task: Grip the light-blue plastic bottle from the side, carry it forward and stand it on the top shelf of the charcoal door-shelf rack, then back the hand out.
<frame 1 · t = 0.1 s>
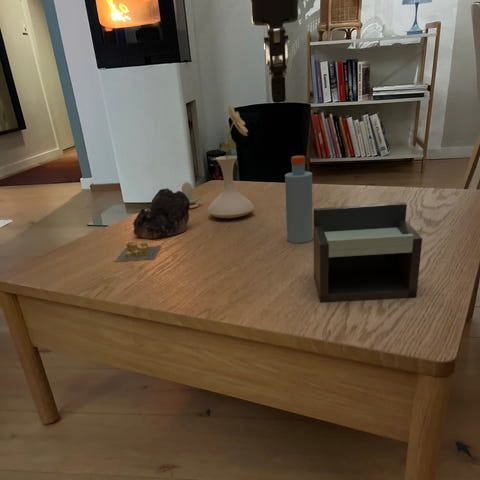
hand: (278, 100, 82), 26 cm above the table, tool pointing down, fingers open, 8 cm apart
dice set: (139, 254, 97), on the table
pacifier: (187, 207, 129), on the table
flower in vase: (233, 215, 118), on the table
plastic bottle: (299, 239, 97), on the table
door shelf: (361, 286, 75), on the table
dark brown rock: (162, 231, 110), on the table
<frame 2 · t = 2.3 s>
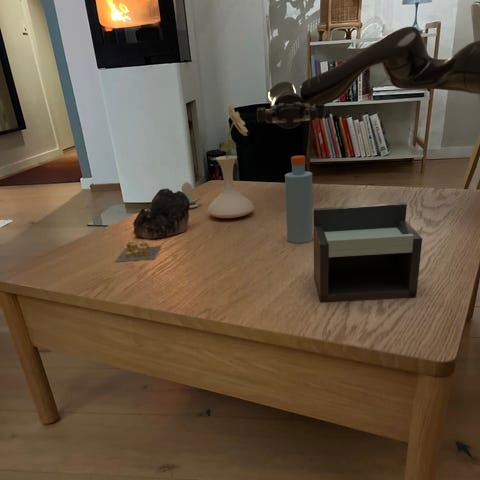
hand: (291, 116, 96), 22 cm above the table, tool horizontal, fingers open, 8 cm apart
nothing on the table moved.
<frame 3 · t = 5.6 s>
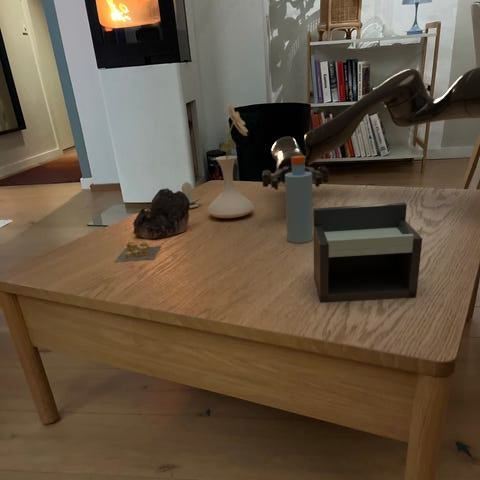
hand: (296, 183, 98), 10 cm above the table, tool horizontal, fingers open, 8 cm apart
nothing on the table moved.
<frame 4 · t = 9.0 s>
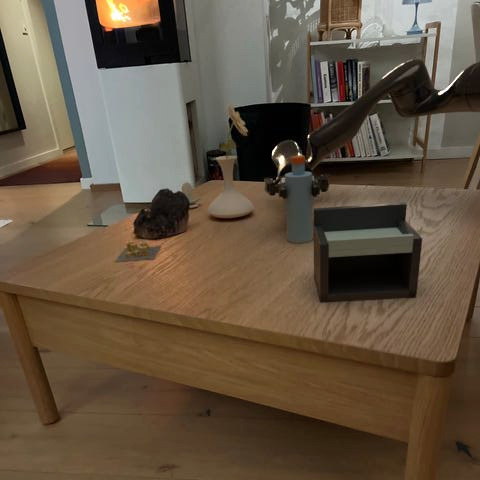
hand: (299, 192, 90), 10 cm above the table, tool horizontal, fingers closed on plastic bottle, 5 cm apart
plastic bottle: (300, 238, 97), on the table, touching gripper
everything else where it was.
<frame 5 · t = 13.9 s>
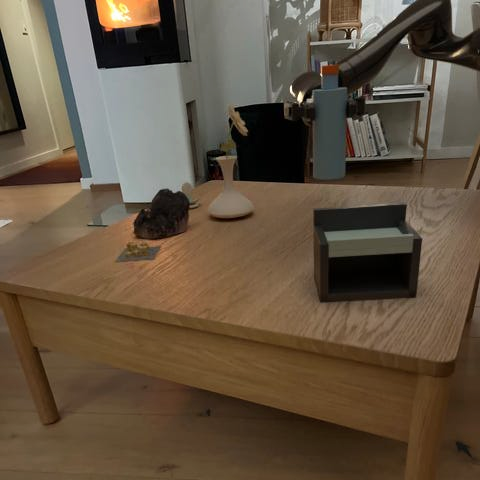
hand: (331, 111, 71), 25 cm above the table, tool horizontal, fingers closed on plastic bottle, 5 cm apart
plastic bottle: (329, 176, 78), point 15 cm above the table, touching gripper
everything else where it was.
when the fingers open (18 cm above the table, at t = 18.8 s): plastic bottle stays where it is, resting on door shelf.
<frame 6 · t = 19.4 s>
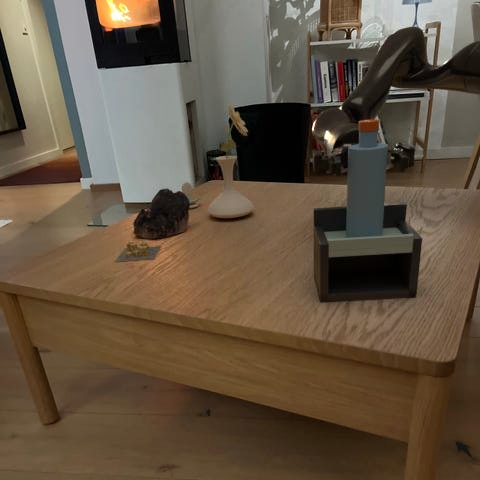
hand: (370, 166, 64), 19 cm above the table, tool horizontal, fingers open, 8 cm apart
plastic bottle: (363, 238, 70), point 8 cm above the table, touching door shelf
everything else where it was.
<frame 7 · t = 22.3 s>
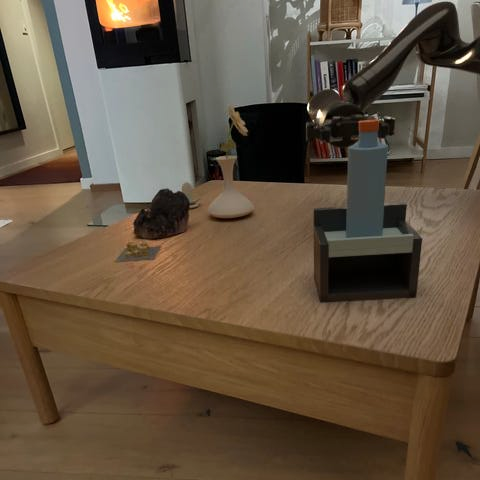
hand: (355, 133, 73), 21 cm above the table, tool horizontal, fingers open, 8 cm apart
nothing on the table moved.
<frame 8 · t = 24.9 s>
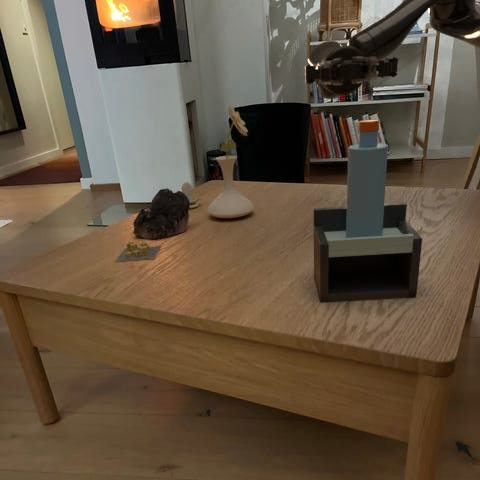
hand: (356, 71, 70), 30 cm above the table, tool horizontal, fingers open, 8 cm apart
nothing on the table moved.
at the end: plastic bottle inside the target area on the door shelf (0.1 cm from its centre), point 8.0 cm above the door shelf's base; plastic bottle tilted 0°; the gripper is holding nothing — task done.
